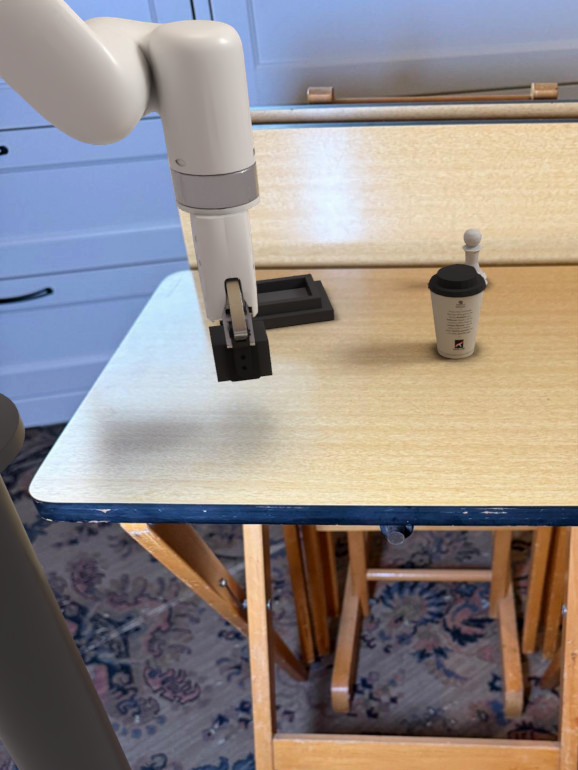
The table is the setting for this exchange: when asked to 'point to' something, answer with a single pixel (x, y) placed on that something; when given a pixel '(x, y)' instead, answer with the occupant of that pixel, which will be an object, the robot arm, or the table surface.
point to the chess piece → (473, 250)
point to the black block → (219, 339)
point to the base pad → (292, 301)
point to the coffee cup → (456, 308)
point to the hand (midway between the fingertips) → (242, 364)
